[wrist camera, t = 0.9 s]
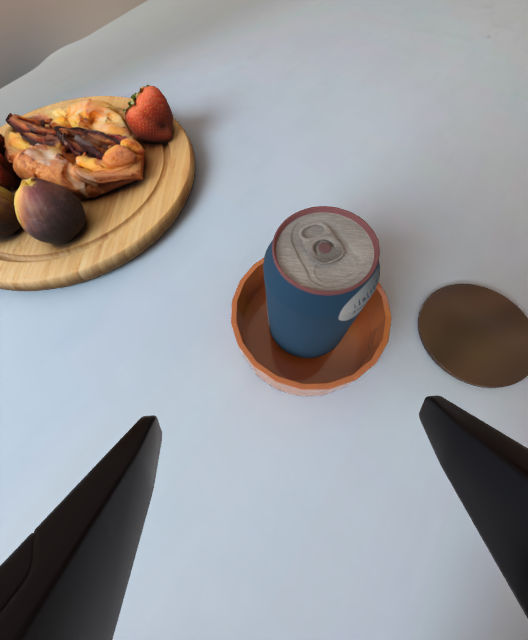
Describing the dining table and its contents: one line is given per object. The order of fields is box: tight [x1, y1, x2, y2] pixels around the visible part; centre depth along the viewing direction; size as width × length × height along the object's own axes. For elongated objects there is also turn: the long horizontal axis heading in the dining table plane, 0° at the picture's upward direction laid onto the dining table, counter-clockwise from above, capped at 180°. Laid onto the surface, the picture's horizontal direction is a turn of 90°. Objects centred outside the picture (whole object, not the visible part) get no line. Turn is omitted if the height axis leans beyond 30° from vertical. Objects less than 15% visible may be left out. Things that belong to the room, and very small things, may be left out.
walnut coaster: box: [418, 284, 528, 388], centre depth 24 cm, size 10×10×1 cm
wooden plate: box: [0, 85, 195, 291], centre depth 31 cm, size 32×32×8 cm
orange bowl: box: [231, 258, 391, 396], centre depth 24 cm, size 13×13×4 cm
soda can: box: [263, 206, 380, 358], centre depth 20 cm, size 7×7×12 cm
